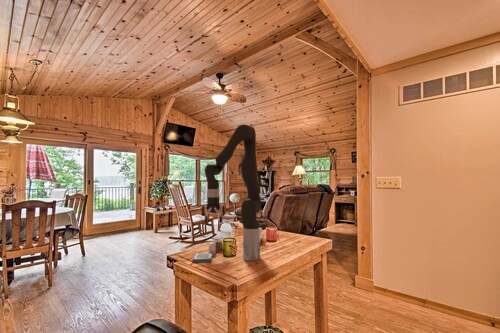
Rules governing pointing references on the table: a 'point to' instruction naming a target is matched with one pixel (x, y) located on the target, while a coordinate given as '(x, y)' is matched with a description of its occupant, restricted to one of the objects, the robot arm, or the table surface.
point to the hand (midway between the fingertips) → (213, 222)
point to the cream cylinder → (212, 247)
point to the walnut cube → (218, 245)
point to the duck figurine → (261, 233)
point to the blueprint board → (202, 257)
